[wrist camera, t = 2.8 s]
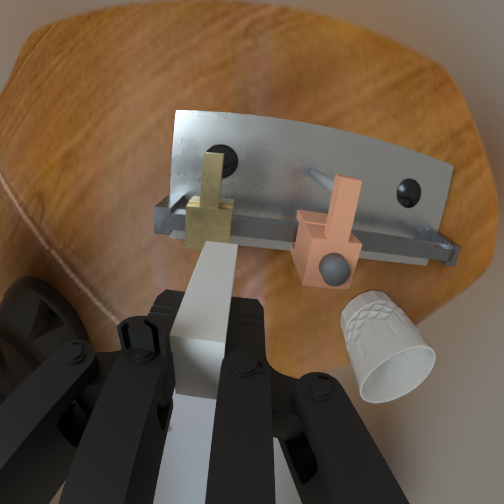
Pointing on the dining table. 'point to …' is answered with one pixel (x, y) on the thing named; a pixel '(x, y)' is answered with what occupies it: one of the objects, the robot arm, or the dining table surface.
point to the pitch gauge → (299, 187)
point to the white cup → (384, 348)
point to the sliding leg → (328, 236)
